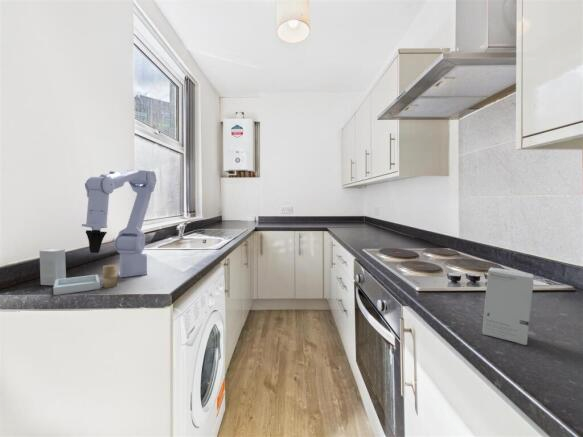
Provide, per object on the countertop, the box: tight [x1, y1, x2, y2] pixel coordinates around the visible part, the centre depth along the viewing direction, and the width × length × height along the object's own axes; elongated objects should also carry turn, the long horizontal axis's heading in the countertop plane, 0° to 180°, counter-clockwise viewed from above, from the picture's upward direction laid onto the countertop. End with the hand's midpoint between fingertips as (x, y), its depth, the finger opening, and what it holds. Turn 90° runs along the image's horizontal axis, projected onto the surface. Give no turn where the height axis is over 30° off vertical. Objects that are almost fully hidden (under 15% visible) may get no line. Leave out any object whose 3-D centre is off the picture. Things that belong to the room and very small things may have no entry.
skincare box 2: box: [482, 267, 535, 346], centre depth 65 cm, size 8×6×15 cm
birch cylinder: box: [102, 264, 118, 289], centre depth 99 cm, size 4×4×7 cm
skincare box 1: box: [39, 248, 67, 286], centre depth 101 cm, size 6×4×12 cm
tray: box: [52, 274, 101, 296], centre depth 97 cm, size 12×12×2 cm
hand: (94, 252), depth 96 cm, fingers open, 7 cm apart
